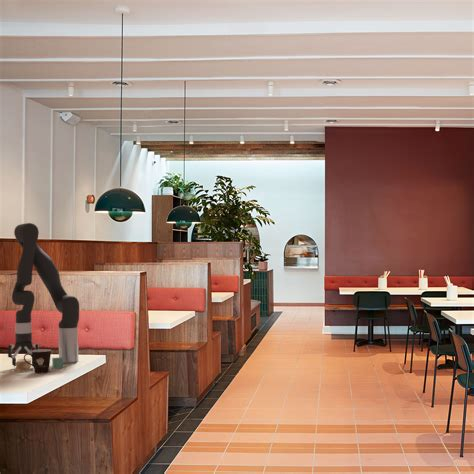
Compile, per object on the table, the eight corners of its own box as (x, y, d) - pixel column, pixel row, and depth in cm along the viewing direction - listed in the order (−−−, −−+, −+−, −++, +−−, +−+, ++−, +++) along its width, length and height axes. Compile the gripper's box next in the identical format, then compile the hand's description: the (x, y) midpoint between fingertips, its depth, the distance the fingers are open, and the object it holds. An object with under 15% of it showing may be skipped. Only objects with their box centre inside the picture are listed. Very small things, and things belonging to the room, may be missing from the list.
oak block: (31, 366, 335) (30, 358, 335) (29, 370, 325) (29, 362, 325) (18, 367, 334) (18, 359, 334) (16, 371, 323) (16, 362, 323)
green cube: (62, 366, 333) (61, 357, 333) (63, 368, 329) (63, 358, 329) (52, 367, 331) (52, 357, 331) (53, 368, 327) (53, 359, 327)
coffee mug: (55, 370, 321) (54, 349, 321) (44, 374, 312) (43, 352, 313) (33, 369, 324) (33, 348, 324) (22, 373, 316) (22, 351, 316)
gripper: (40, 330, 334) (40, 364, 334) (9, 331, 332) (10, 365, 332) (37, 332, 327) (37, 366, 326) (6, 333, 325) (6, 367, 325)
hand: (23, 365), depth 329 cm, fingers open, 8 cm apart
